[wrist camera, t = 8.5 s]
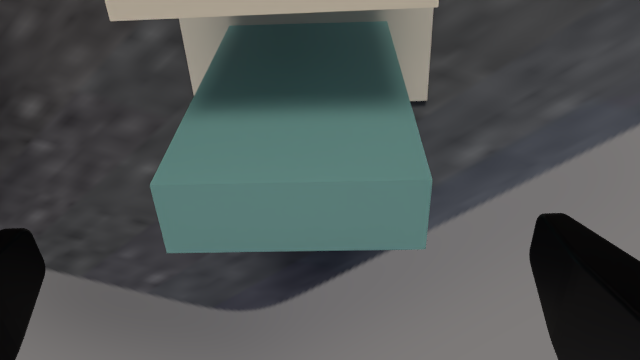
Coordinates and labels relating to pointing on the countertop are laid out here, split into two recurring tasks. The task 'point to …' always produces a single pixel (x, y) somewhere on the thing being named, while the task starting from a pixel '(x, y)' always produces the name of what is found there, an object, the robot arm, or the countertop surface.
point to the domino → (245, 7)
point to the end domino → (297, 147)
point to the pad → (404, 24)
